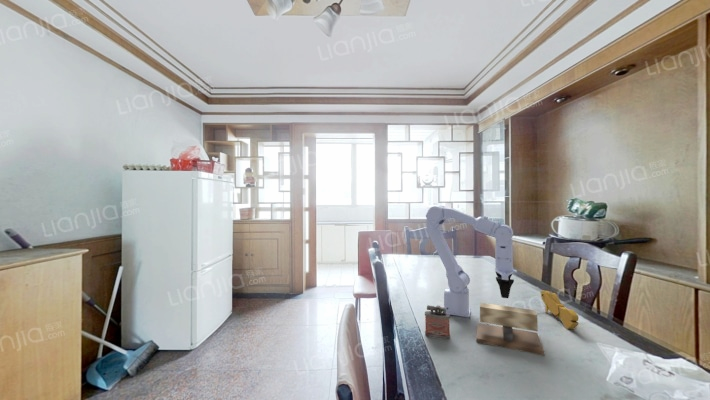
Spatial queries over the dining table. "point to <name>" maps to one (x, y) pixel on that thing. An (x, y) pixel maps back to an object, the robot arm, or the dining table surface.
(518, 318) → the pine batten
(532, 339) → the ridge stand
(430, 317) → the lighter
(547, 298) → the decorative fish
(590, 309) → the dining table surface
